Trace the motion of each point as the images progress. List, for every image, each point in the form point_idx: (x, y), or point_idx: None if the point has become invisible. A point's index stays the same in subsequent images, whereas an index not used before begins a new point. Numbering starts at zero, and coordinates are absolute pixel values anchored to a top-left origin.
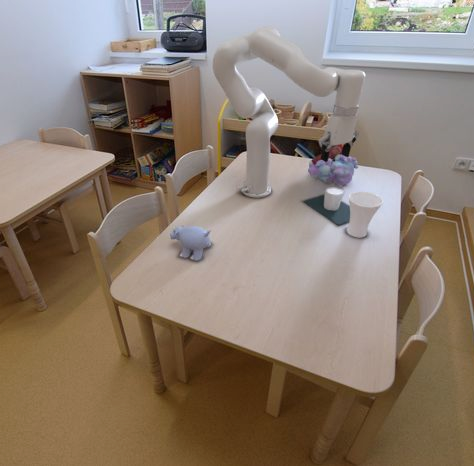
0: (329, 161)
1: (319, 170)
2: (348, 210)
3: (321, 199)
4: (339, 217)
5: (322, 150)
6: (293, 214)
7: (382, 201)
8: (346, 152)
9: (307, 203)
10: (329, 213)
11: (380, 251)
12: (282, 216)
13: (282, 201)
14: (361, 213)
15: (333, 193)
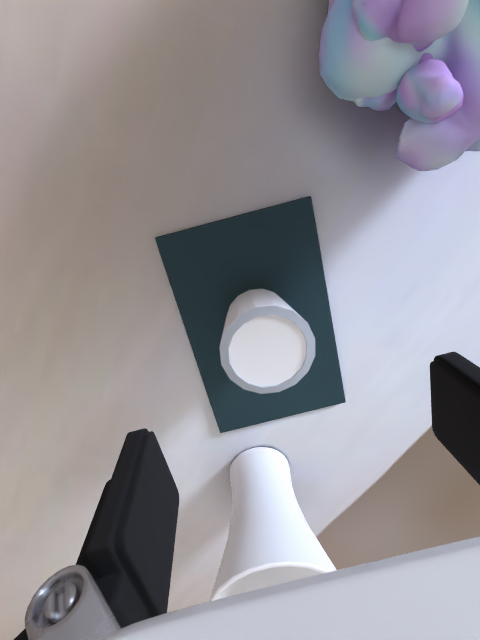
0: (427, 35)
1: (322, 45)
2: None
3: (247, 246)
4: (248, 395)
5: (73, 578)
6: (77, 332)
7: None
8: (465, 448)
9: (165, 266)
10: None
11: None
12: (25, 336)
13: (49, 208)
14: None
15: (251, 370)
